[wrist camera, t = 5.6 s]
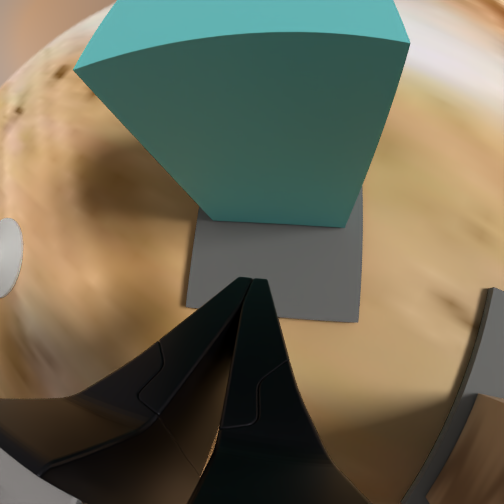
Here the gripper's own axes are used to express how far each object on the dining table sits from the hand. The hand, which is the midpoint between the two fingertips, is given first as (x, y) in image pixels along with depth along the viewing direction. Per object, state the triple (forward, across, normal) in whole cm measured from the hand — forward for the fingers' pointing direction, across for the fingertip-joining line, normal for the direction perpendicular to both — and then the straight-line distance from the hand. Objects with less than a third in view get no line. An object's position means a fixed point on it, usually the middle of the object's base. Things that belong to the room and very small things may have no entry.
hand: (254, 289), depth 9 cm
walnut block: (-2, -15, +11) cm, 18 cm away
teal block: (+10, 0, -1) cm, 10 cm away
